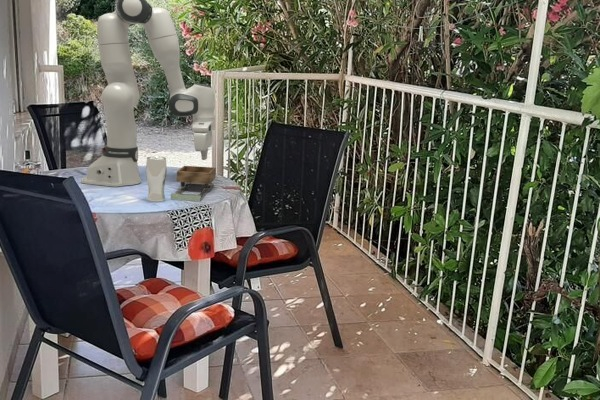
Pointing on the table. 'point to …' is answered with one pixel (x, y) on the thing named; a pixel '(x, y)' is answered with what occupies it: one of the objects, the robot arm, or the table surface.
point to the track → (190, 197)
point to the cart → (196, 175)
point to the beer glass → (156, 178)
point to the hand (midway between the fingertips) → (204, 159)
